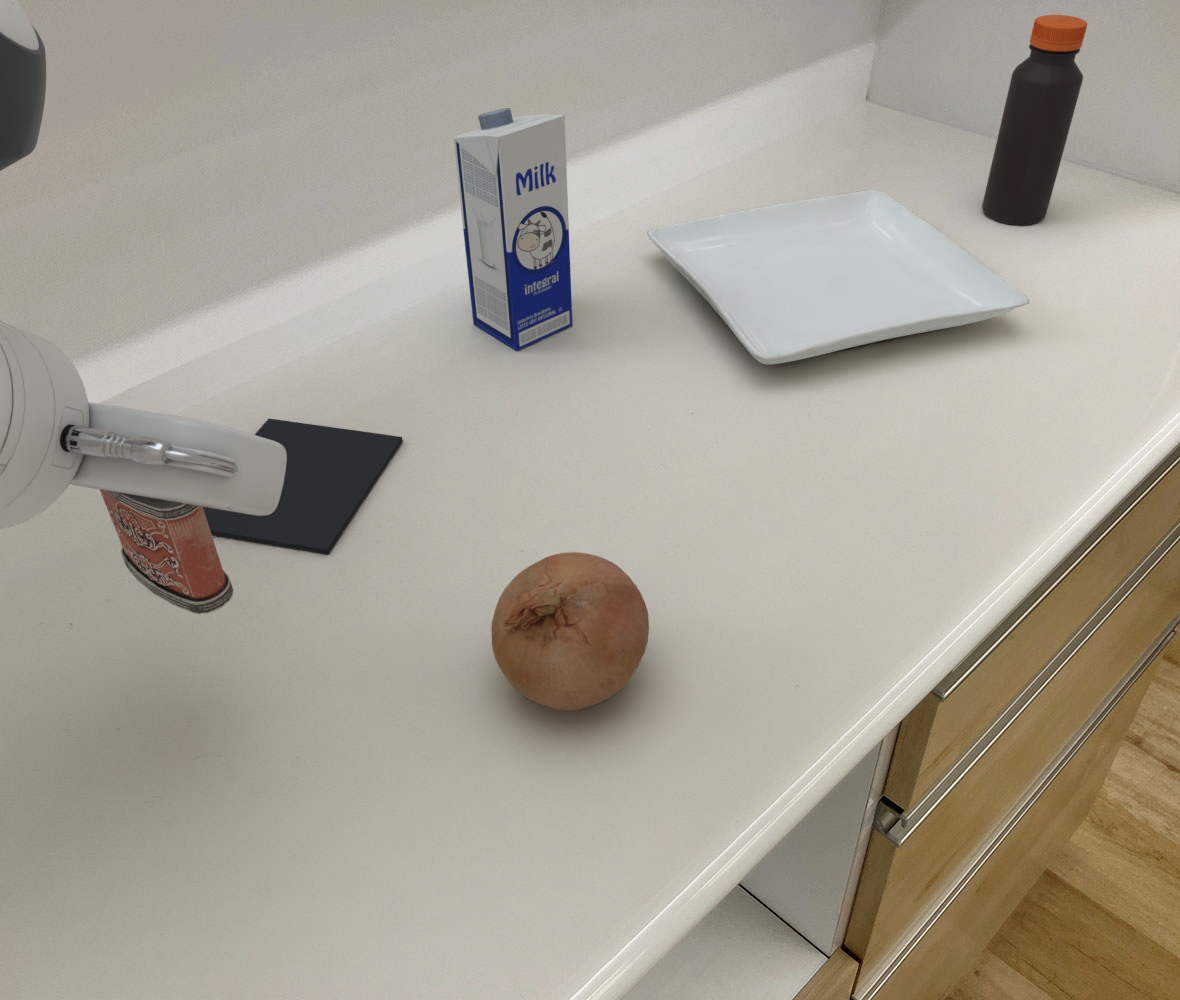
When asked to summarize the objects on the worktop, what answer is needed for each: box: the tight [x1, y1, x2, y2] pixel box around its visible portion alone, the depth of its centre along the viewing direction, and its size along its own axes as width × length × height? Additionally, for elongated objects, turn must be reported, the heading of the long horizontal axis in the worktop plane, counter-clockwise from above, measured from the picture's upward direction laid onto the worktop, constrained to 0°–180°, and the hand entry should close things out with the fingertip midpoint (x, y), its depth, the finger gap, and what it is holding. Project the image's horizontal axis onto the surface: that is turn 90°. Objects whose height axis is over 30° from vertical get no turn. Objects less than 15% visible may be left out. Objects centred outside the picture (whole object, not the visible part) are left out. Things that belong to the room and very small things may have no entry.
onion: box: [490, 551, 650, 711], centre depth 63 cm, size 10×9×10 cm
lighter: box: [99, 489, 234, 615], centre depth 56 cm, size 8×3×10 cm, turn 53°
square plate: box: [646, 188, 1030, 366], centre depth 101 cm, size 27×27×4 cm
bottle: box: [981, 14, 1088, 226], centre depth 109 cm, size 7×7×20 cm
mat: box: [203, 418, 404, 555], centre depth 81 cm, size 12×14×1 cm
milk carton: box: [452, 107, 573, 352], centre depth 93 cm, size 7×7×20 cm
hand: (164, 466), depth 57 cm, fingers closed on lighter, 6 cm apart
